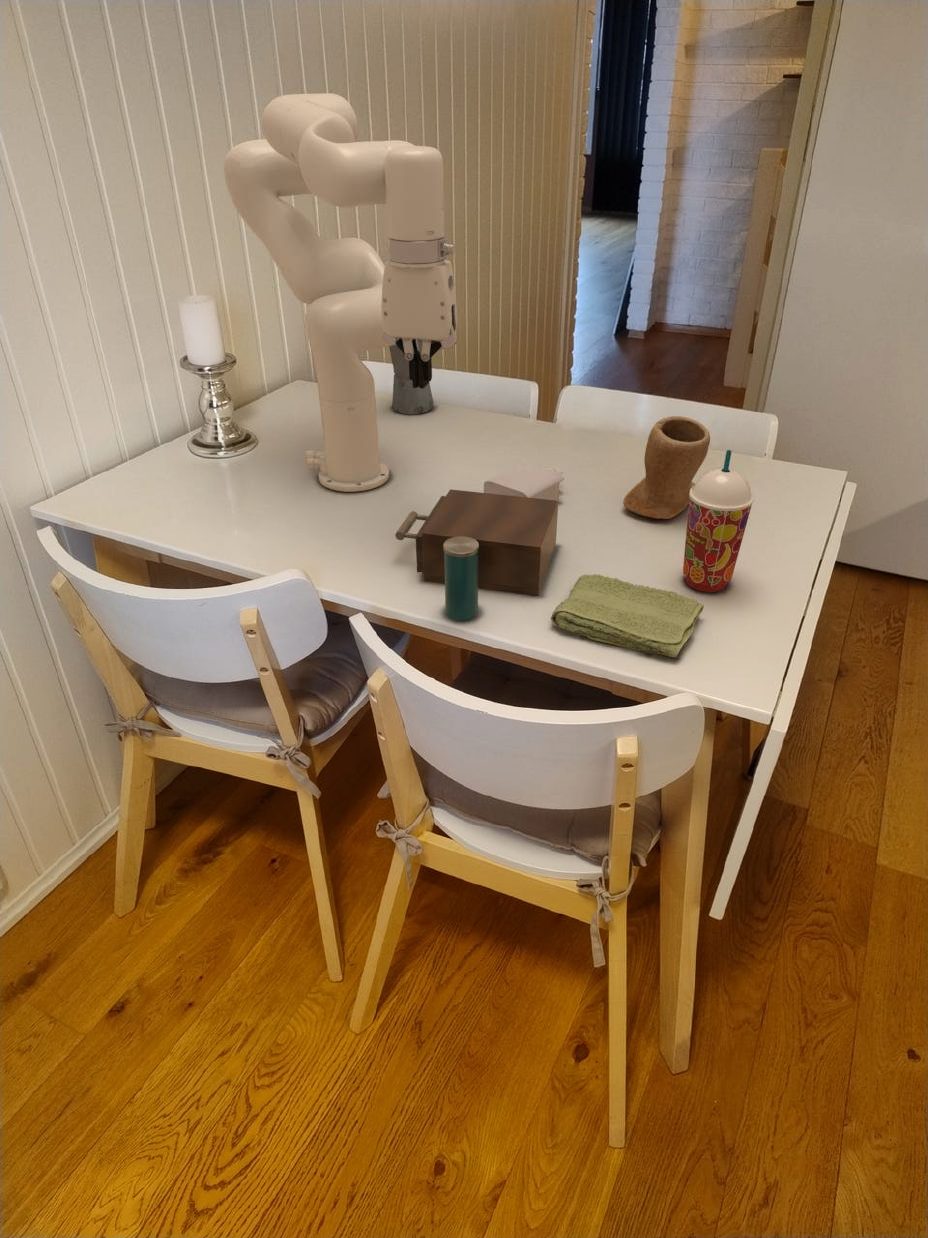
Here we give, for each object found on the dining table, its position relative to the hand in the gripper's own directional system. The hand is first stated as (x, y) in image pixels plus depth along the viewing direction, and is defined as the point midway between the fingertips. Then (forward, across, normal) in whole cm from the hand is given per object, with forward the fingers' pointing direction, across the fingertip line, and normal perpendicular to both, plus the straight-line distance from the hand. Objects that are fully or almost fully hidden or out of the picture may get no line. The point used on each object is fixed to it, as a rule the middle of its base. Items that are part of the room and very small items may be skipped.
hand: (421, 385), depth 123 cm
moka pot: (+23, +19, -52) cm, 60 cm away
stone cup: (+23, -37, -16) cm, 47 cm away
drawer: (+22, -9, +10) cm, 26 cm away
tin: (+23, -13, +24) cm, 35 cm away
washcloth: (+23, -34, +21) cm, 46 cm away
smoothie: (+23, -44, +8) cm, 50 cm away
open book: (+23, -15, -14) cm, 31 cm away
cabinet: (+23, -13, +10) cm, 28 cm away
